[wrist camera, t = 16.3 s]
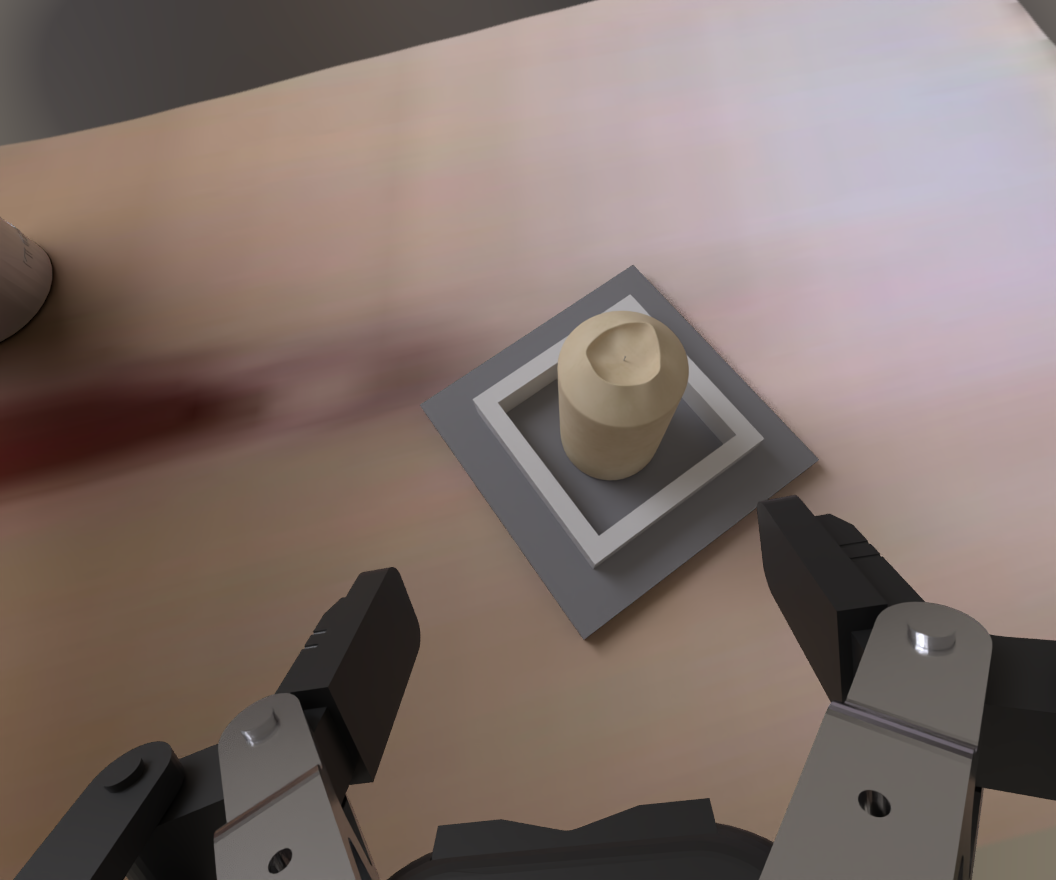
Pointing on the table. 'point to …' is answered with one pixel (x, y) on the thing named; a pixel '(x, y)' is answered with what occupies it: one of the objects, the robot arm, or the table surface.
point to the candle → (618, 391)
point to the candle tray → (613, 505)
